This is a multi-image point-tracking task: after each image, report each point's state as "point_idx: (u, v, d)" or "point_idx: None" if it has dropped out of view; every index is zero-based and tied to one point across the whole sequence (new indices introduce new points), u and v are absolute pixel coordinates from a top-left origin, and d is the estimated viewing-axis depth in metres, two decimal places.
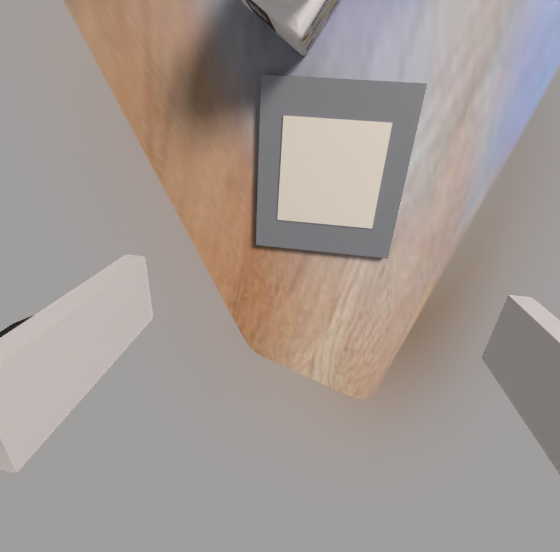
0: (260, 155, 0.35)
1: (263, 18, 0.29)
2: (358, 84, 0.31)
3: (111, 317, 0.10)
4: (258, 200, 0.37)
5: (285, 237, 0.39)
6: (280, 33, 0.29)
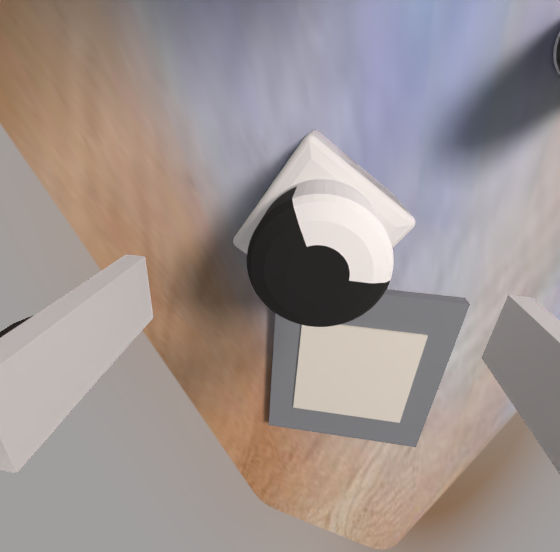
0: (275, 351, 0.31)
1: None
2: (389, 299, 0.27)
3: (111, 317, 0.10)
4: (272, 388, 0.33)
5: (301, 421, 0.35)
6: None
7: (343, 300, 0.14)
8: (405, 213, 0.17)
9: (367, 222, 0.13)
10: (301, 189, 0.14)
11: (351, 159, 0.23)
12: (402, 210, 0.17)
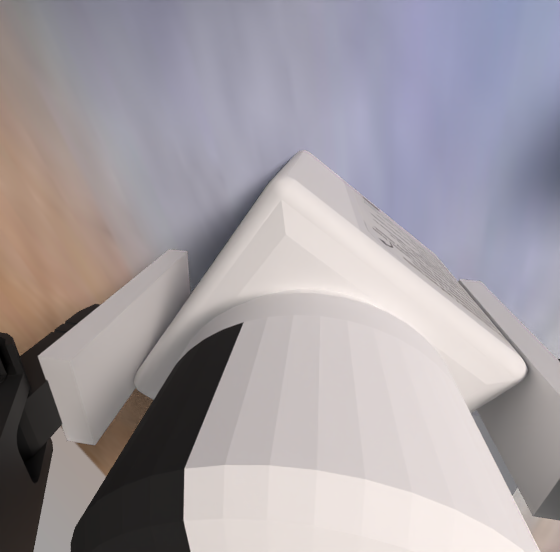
0: None
1: None
2: None
3: (162, 307, 0.11)
4: None
5: None
6: None
7: None
8: (507, 353, 0.07)
9: None
10: (243, 368, 0.04)
11: (368, 201, 0.13)
12: (500, 346, 0.08)
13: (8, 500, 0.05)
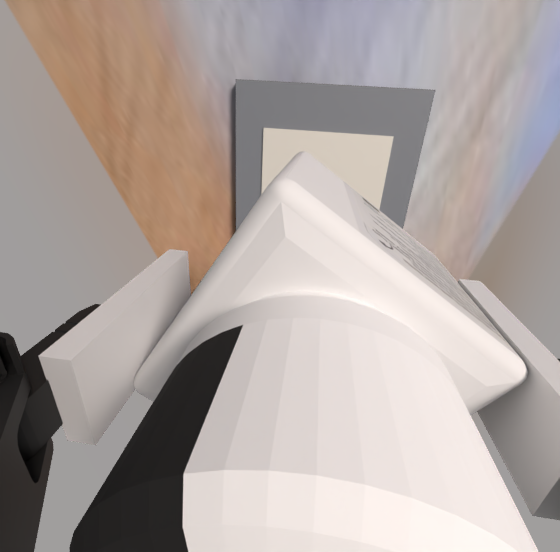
0: (238, 174, 0.30)
1: None
2: (352, 91, 0.26)
3: (162, 307, 0.11)
4: (237, 225, 0.32)
5: None
6: None
7: None
8: (508, 355, 0.07)
9: None
10: (242, 371, 0.04)
11: (368, 202, 0.13)
12: (501, 348, 0.07)
13: (9, 500, 0.05)
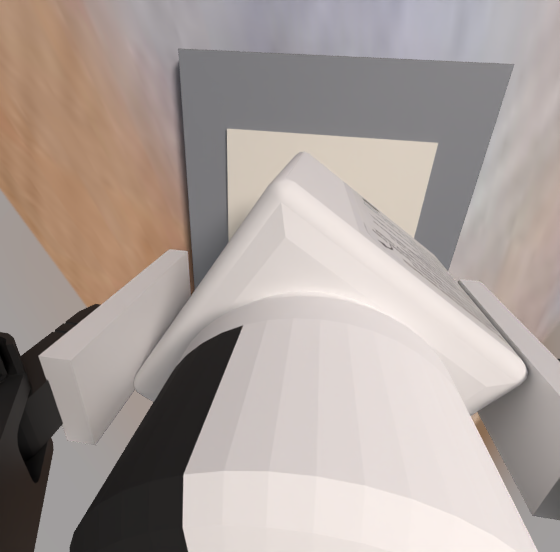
0: (192, 199, 0.19)
1: None
2: (371, 67, 0.15)
3: (162, 307, 0.11)
4: (195, 272, 0.22)
5: None
6: None
7: None
8: (508, 355, 0.07)
9: None
10: (242, 372, 0.04)
11: (368, 202, 0.13)
12: (500, 348, 0.07)
13: (9, 500, 0.05)
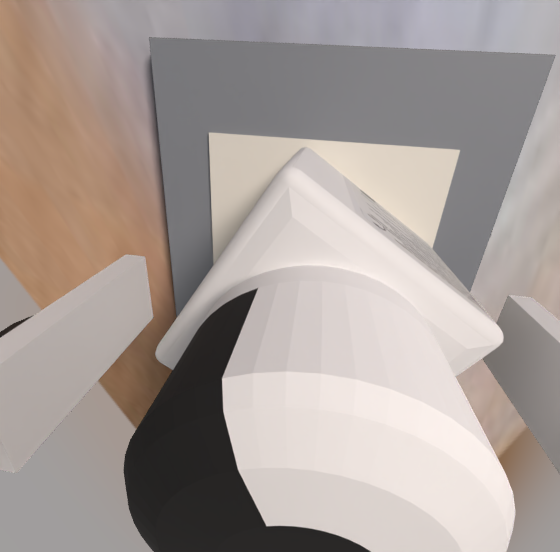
0: (170, 214, 0.17)
1: None
2: (381, 58, 0.13)
3: (111, 317, 0.10)
4: (177, 296, 0.19)
5: None
6: None
7: None
8: (485, 321, 0.09)
9: (455, 469, 0.04)
10: (261, 317, 0.06)
11: (365, 194, 0.14)
12: (479, 315, 0.09)
13: None
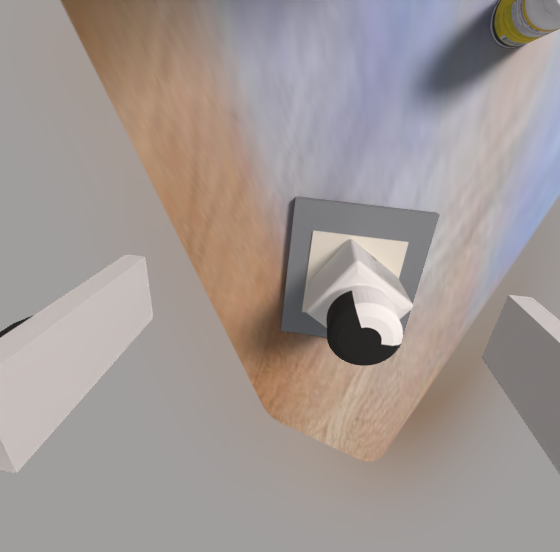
0: (290, 259, 0.40)
1: None
2: (380, 211, 0.36)
3: (111, 317, 0.10)
4: (285, 295, 0.42)
5: (308, 326, 0.43)
6: None
7: (377, 353, 0.28)
8: (407, 301, 0.32)
9: (391, 317, 0.27)
10: (356, 295, 0.28)
11: (373, 257, 0.37)
12: (406, 299, 0.32)
13: None
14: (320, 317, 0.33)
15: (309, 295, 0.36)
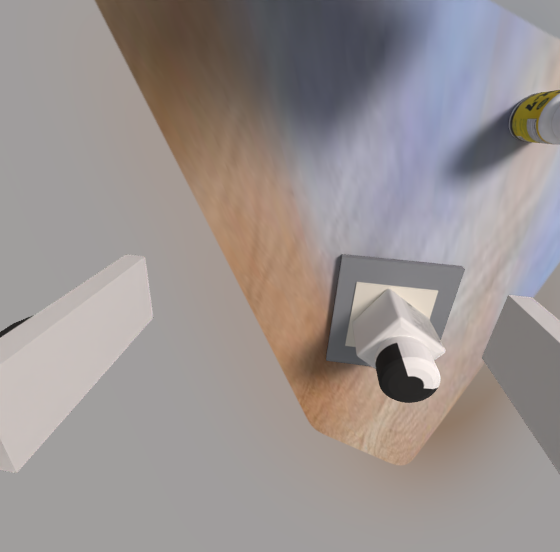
0: (336, 304, 0.47)
1: None
2: (414, 266, 0.43)
3: (111, 317, 0.10)
4: (331, 332, 0.49)
5: (350, 356, 0.50)
6: None
7: (420, 394, 0.35)
8: (441, 347, 0.39)
9: (431, 368, 0.34)
10: (402, 349, 0.36)
11: (408, 303, 0.44)
12: (439, 346, 0.39)
13: None
14: (368, 359, 0.40)
15: (356, 338, 0.43)
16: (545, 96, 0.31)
